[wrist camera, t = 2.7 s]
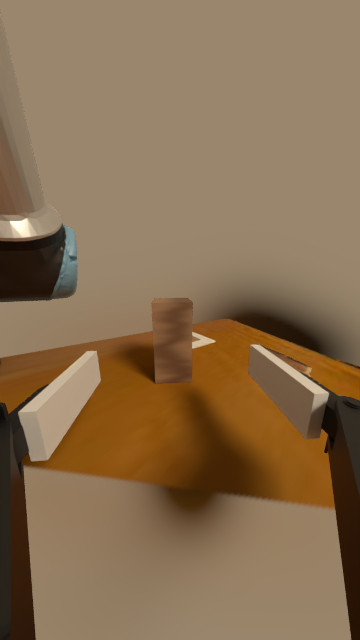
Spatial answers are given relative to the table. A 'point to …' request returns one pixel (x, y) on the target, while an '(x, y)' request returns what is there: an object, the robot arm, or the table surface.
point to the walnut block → (172, 339)
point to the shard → (291, 362)
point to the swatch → (200, 340)
